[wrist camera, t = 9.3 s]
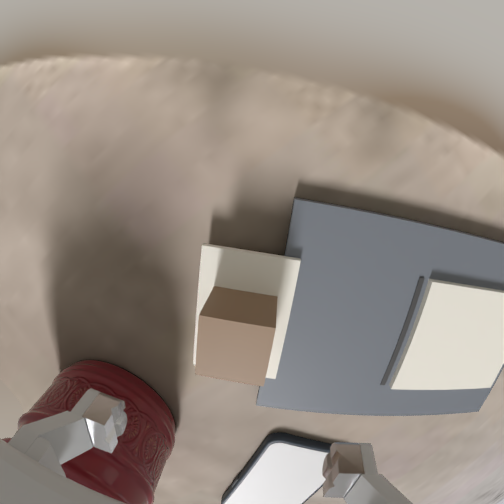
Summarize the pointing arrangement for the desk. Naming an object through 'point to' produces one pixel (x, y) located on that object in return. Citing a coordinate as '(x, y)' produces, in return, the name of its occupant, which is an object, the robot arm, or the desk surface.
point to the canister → (129, 443)
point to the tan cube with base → (242, 313)
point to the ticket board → (388, 316)
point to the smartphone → (280, 472)
